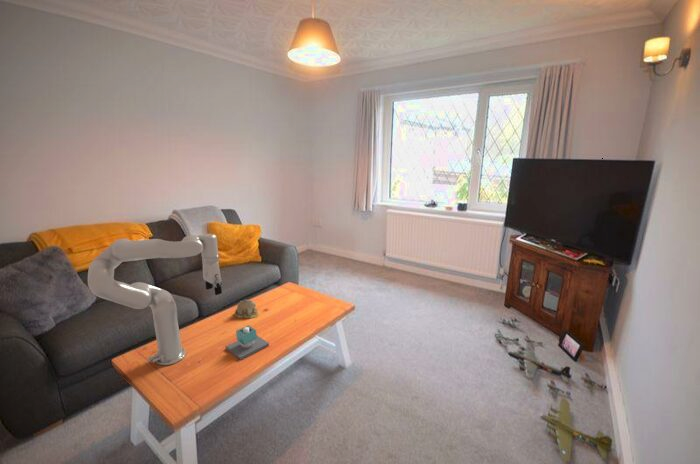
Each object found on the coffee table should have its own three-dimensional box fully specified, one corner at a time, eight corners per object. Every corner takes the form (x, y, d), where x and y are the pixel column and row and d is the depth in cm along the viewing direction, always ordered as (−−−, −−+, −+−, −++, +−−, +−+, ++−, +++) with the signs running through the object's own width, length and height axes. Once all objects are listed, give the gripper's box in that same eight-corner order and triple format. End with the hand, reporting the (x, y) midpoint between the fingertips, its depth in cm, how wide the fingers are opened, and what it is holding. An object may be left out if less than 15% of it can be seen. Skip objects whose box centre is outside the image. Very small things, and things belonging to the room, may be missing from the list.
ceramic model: (259, 309, 200) (258, 294, 198) (257, 318, 189) (256, 302, 187) (236, 311, 198) (235, 296, 195) (233, 320, 187) (231, 304, 185)
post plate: (240, 360, 150) (238, 340, 147) (225, 348, 159) (224, 330, 156) (268, 345, 162) (267, 327, 159) (254, 335, 171) (252, 318, 168)
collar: (244, 344, 154) (243, 335, 153) (236, 339, 159) (236, 330, 158) (256, 338, 159) (256, 330, 158) (249, 333, 164) (248, 325, 163)
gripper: (195, 257, 158) (199, 288, 162) (211, 264, 147) (214, 298, 151) (210, 253, 163) (213, 284, 167) (226, 261, 152) (229, 293, 156)
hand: (213, 291), depth 159 cm, fingers open, 9 cm apart
